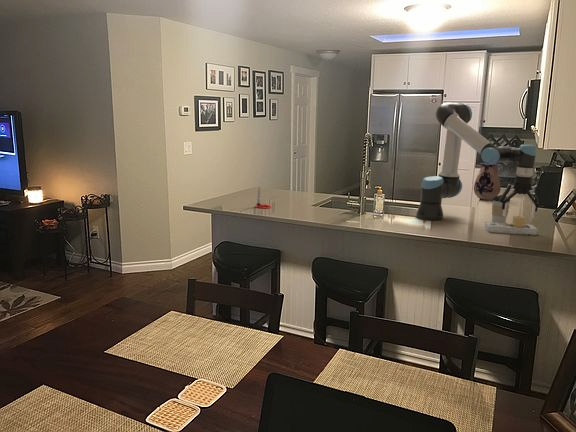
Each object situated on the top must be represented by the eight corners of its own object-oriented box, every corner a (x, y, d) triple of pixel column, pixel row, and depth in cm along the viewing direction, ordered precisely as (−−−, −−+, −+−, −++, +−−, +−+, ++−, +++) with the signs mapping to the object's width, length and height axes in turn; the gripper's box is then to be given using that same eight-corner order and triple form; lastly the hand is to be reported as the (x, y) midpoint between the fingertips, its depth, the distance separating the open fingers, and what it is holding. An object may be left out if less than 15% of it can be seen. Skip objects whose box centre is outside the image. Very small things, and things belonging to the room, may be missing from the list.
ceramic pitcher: (469, 199, 339) (473, 163, 333) (477, 195, 356) (480, 161, 350) (496, 202, 329) (500, 165, 324) (502, 197, 346) (506, 163, 341)
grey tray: (488, 232, 246) (488, 226, 246) (484, 227, 256) (485, 221, 255) (536, 235, 242) (537, 229, 241) (531, 230, 251) (532, 224, 251)
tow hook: (273, 207, 301) (259, 205, 304) (274, 187, 298) (260, 185, 301) (268, 210, 294) (254, 208, 296) (269, 189, 291) (255, 187, 293)
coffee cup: (506, 225, 262) (509, 198, 259) (488, 222, 267) (491, 196, 264) (508, 222, 270) (511, 195, 266) (491, 219, 274) (494, 193, 271)
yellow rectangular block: (513, 232, 246) (515, 217, 244) (511, 230, 250) (513, 215, 249) (523, 233, 245) (525, 217, 244) (520, 231, 250) (522, 216, 248)
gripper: (499, 175, 241) (493, 216, 246) (553, 178, 236) (546, 220, 241) (496, 173, 248) (490, 213, 253) (548, 176, 243) (542, 217, 248)
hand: (518, 216), depth 247 cm, fingers open, 13 cm apart
